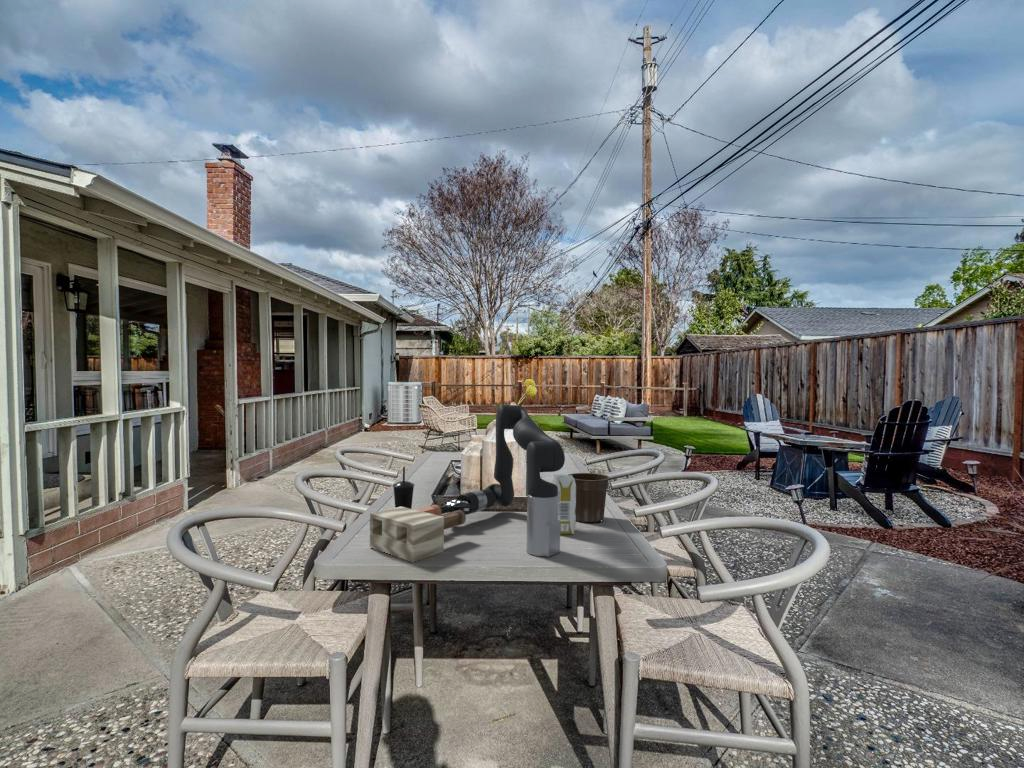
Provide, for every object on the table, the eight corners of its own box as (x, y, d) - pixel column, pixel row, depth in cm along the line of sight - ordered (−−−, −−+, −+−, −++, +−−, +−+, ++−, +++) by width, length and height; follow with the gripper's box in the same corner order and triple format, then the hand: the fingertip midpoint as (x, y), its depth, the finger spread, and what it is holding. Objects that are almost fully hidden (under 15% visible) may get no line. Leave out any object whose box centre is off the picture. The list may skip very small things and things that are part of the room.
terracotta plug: (441, 519, 172) (441, 505, 171) (403, 530, 158) (403, 515, 158) (431, 517, 174) (432, 503, 174) (393, 527, 161) (393, 512, 161)
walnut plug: (465, 525, 165) (465, 511, 165) (427, 537, 152) (427, 521, 152) (455, 522, 168) (455, 508, 168) (417, 534, 155) (417, 519, 154)
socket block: (443, 551, 153) (444, 516, 153) (412, 562, 144) (413, 525, 144) (400, 538, 165) (401, 506, 165) (369, 548, 156) (370, 513, 156)
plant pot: (563, 513, 201) (564, 471, 201) (604, 513, 201) (605, 472, 201) (567, 524, 185) (568, 479, 185) (612, 525, 185) (613, 480, 184)
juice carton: (553, 535, 171) (554, 478, 171) (551, 528, 180) (552, 473, 180) (576, 535, 171) (577, 478, 171) (572, 528, 180) (573, 474, 180)
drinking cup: (418, 521, 185) (419, 466, 185) (403, 526, 179) (404, 469, 179) (402, 518, 189) (403, 464, 189) (387, 523, 183) (388, 467, 183)
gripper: (459, 489, 191) (424, 497, 177) (485, 494, 183) (451, 503, 169) (458, 509, 191) (423, 518, 177) (485, 515, 183) (451, 525, 169)
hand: (437, 511), depth 173 cm, fingers closed
